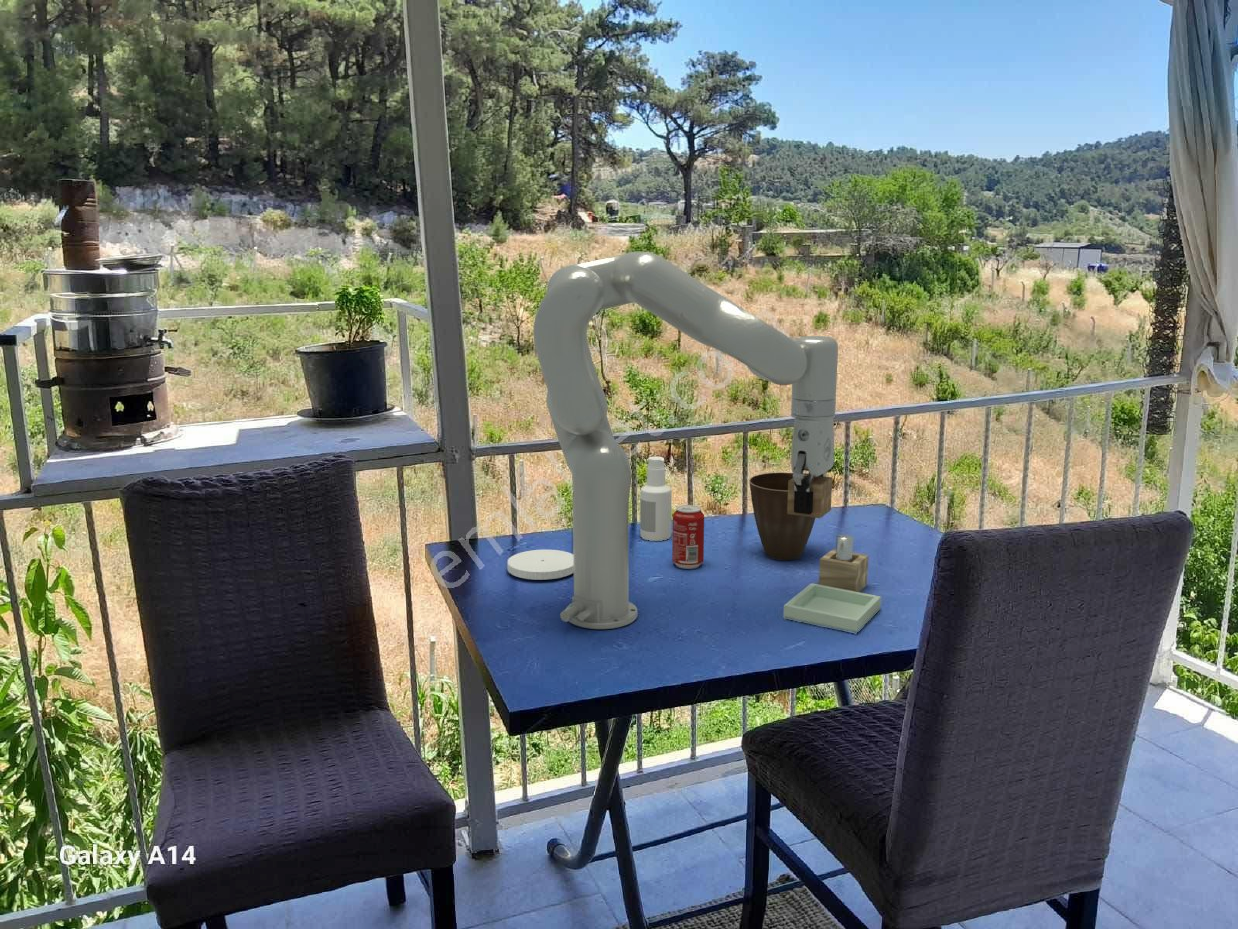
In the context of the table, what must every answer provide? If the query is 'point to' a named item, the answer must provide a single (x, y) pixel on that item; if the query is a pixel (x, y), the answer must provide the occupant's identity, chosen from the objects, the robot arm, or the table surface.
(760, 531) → the plant pot
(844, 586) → the go block
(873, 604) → the tray
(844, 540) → the cylinder
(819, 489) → the block
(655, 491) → the spray bottle
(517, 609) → the table surface
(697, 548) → the beverage can
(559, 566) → the plastic lid
